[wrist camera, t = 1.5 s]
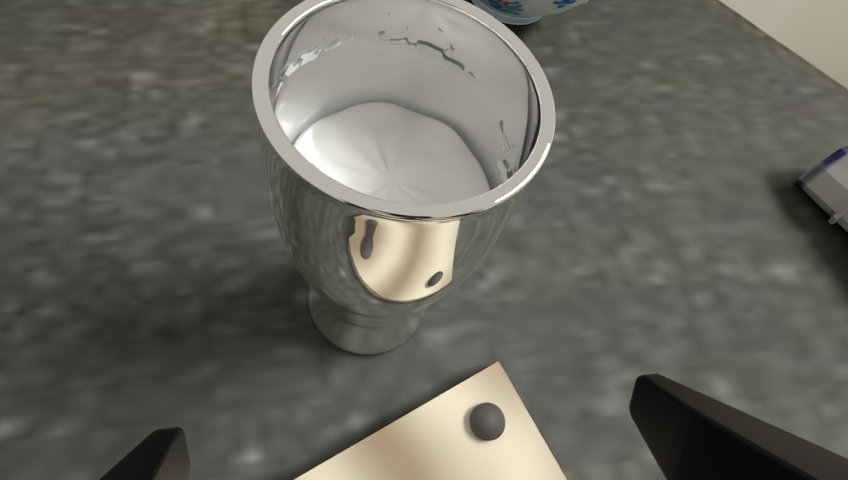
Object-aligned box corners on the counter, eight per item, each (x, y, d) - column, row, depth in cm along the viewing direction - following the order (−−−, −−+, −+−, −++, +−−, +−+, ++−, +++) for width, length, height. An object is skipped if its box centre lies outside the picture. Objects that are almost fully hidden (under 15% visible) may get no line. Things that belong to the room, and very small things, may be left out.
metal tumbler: (402, 220, 25) (477, -40, 12) (456, 332, 23) (625, 170, 9) (281, 259, 23) (199, -6, 9) (327, 388, 20) (306, 283, 7)
